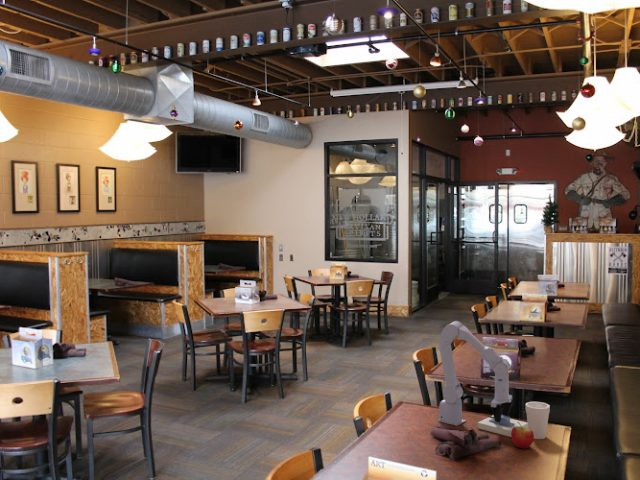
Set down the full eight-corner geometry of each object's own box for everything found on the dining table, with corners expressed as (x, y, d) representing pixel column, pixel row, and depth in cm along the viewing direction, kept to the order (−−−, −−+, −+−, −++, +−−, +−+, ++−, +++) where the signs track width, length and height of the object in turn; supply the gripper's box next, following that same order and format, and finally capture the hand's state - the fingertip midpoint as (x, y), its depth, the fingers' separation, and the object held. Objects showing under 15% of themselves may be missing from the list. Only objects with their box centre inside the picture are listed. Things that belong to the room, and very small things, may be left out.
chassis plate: (477, 428, 270) (477, 422, 270) (494, 420, 280) (494, 414, 280) (512, 437, 259) (512, 431, 259) (528, 428, 269) (528, 422, 269)
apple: (510, 442, 254) (510, 417, 253) (533, 444, 252) (533, 419, 251) (511, 449, 246) (511, 424, 245) (534, 451, 244) (534, 426, 243)
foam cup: (546, 432, 264) (546, 402, 264) (552, 440, 255) (552, 408, 254) (523, 432, 265) (523, 401, 264) (528, 440, 256) (528, 408, 255)
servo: (514, 430, 267) (514, 416, 267) (511, 432, 265) (511, 418, 264) (489, 424, 275) (489, 410, 275) (485, 426, 273) (485, 412, 272)
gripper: (501, 393, 260) (501, 426, 261) (518, 386, 271) (518, 417, 271) (486, 390, 265) (486, 422, 266) (503, 383, 276) (503, 414, 276)
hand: (501, 420), depth 269 cm, fingers open, 6 cm apart
